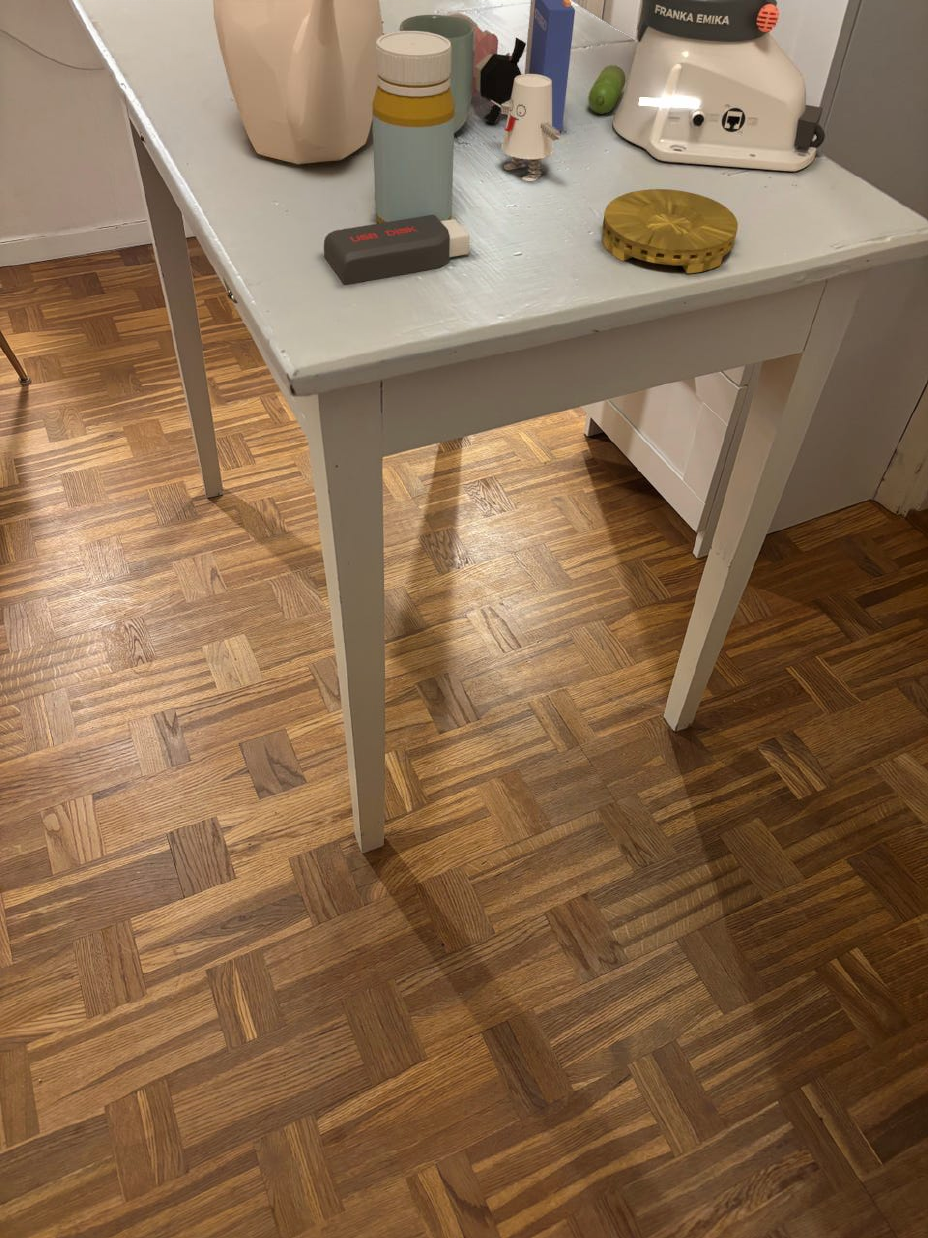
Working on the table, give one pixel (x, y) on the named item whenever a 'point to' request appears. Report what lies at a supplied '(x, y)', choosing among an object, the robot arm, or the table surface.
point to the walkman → (551, 48)
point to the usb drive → (394, 248)
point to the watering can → (301, 73)
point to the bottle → (413, 127)
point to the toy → (493, 68)
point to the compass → (669, 229)
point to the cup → (452, 56)
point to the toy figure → (529, 123)
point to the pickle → (607, 89)
